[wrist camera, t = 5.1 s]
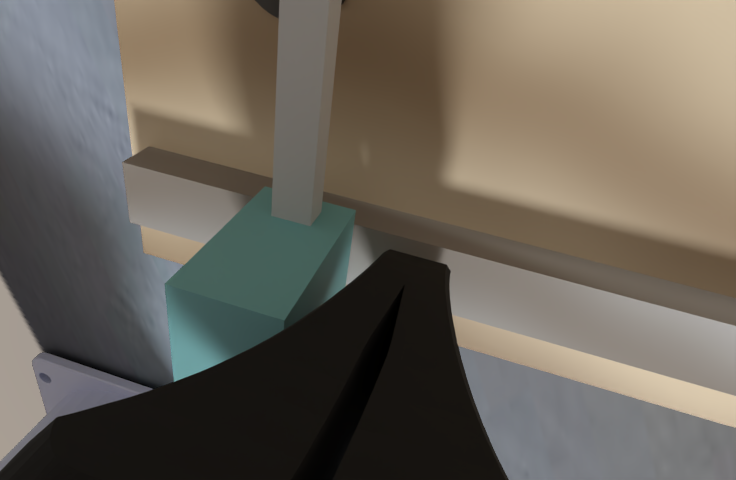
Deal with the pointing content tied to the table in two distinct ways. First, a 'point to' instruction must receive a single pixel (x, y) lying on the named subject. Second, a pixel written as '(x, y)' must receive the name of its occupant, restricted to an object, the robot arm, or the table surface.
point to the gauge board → (482, 166)
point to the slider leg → (272, 217)
